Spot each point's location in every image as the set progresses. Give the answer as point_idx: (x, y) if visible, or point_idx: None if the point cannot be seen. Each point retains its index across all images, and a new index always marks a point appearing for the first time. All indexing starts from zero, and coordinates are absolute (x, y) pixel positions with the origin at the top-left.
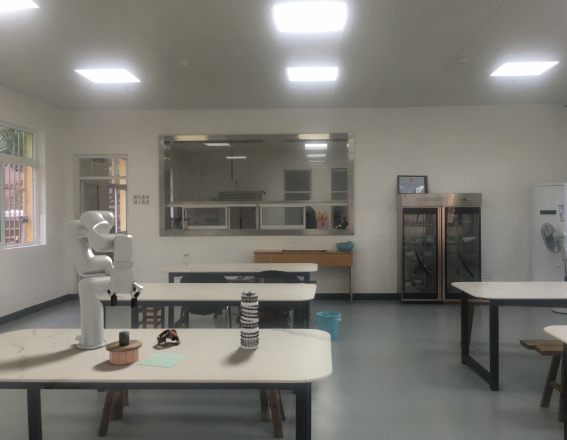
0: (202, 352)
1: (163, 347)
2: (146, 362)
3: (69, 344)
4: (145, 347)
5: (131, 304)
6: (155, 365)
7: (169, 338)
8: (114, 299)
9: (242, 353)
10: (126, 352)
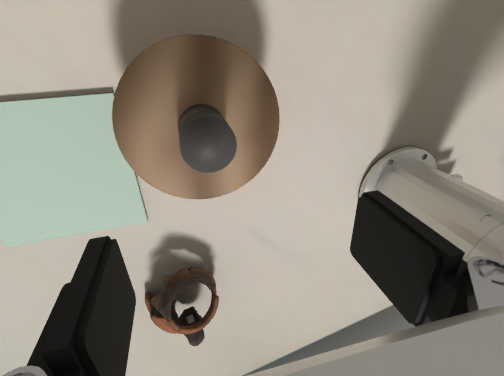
0: (6, 291)
1: (179, 265)
2: (87, 122)
3: (460, 166)
4: (234, 241)
5: (90, 266)
6: (14, 107)
7: (156, 295)
8: (399, 264)
9: None
10: None
